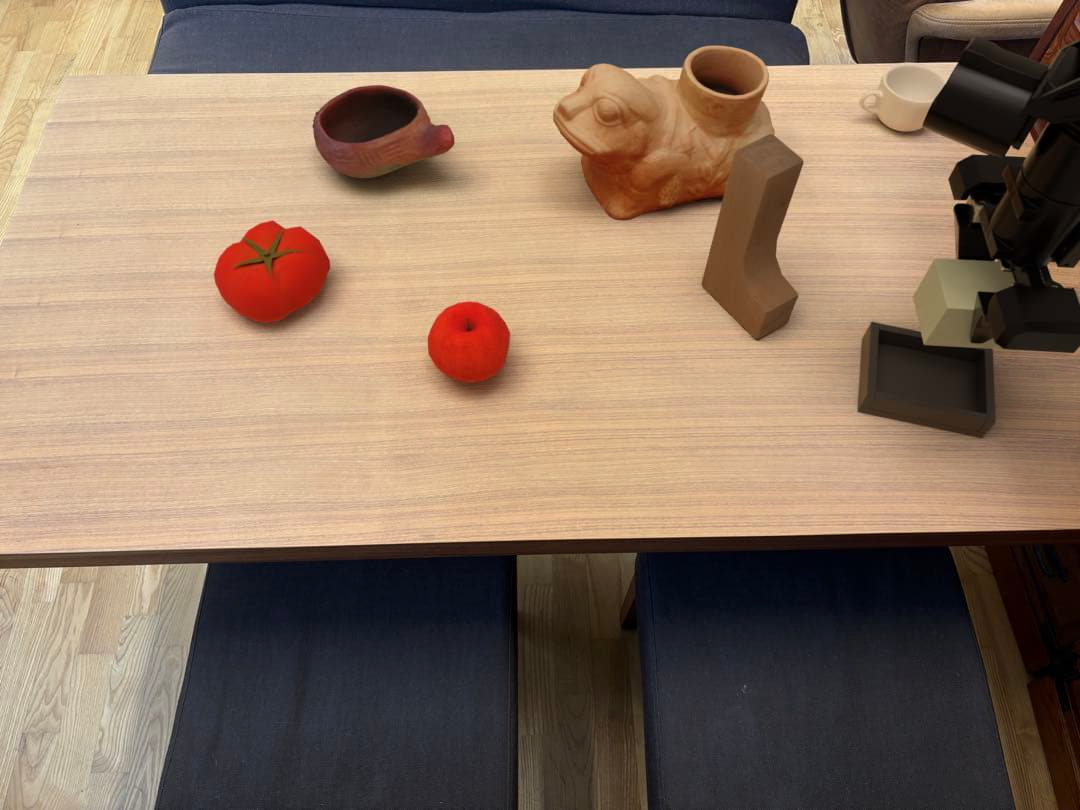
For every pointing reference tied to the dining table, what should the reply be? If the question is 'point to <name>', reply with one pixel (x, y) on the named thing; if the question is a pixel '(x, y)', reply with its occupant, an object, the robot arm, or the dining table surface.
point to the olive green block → (955, 299)
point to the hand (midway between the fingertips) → (968, 315)
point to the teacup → (905, 95)
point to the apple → (469, 342)
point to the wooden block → (754, 237)
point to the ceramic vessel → (665, 129)
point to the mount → (926, 381)
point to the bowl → (377, 131)
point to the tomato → (271, 271)
